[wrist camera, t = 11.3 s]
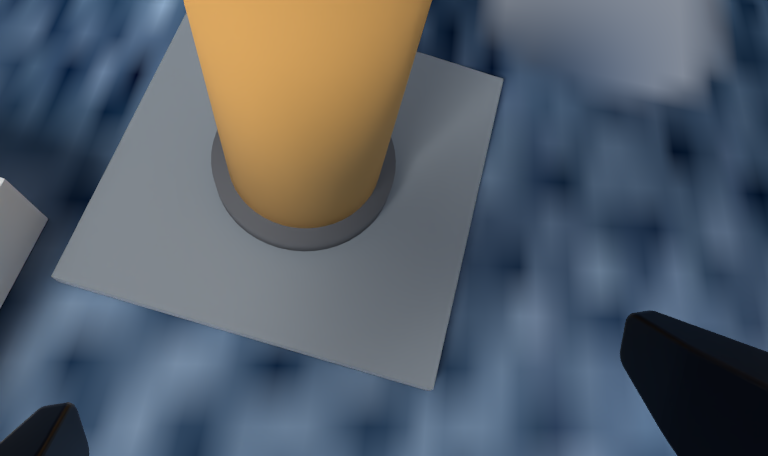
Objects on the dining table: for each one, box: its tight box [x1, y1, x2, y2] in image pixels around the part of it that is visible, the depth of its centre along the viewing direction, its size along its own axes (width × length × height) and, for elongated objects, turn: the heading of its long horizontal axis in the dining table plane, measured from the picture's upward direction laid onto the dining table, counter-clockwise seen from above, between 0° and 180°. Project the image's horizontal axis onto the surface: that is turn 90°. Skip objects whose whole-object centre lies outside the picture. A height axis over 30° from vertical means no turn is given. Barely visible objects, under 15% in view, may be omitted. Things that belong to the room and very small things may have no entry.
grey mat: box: [51, 12, 503, 391], centre depth 20 cm, size 12×12×1 cm
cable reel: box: [184, 0, 432, 251], centre depth 14 cm, size 6×6×13 cm
